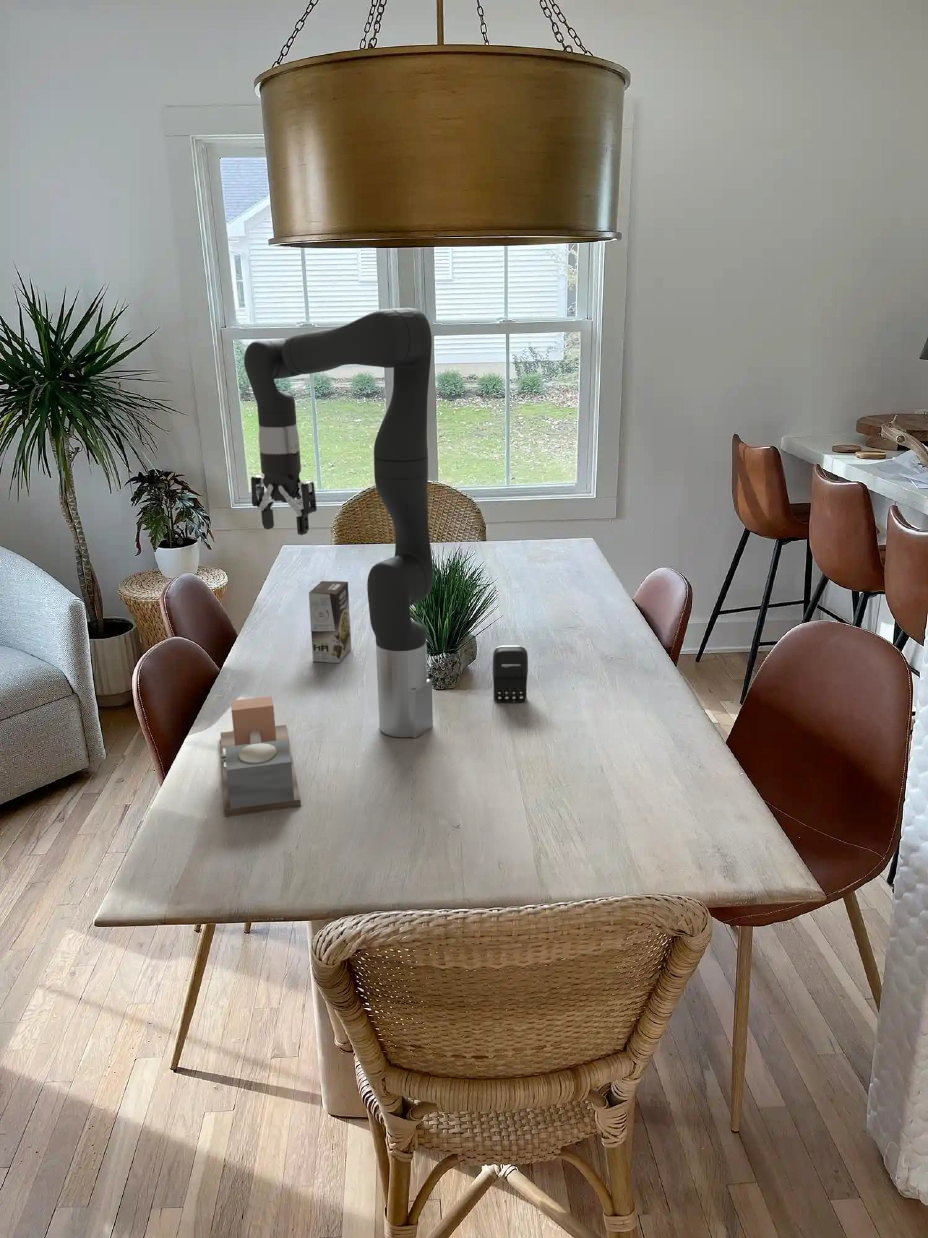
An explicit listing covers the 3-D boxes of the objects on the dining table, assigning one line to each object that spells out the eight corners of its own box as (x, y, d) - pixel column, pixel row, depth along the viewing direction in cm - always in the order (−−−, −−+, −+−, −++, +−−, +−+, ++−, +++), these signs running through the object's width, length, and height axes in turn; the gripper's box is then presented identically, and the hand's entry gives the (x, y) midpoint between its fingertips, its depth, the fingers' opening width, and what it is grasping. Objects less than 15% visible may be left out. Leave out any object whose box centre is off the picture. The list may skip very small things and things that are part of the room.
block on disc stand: (220, 754, 171) (215, 702, 168) (276, 747, 174) (271, 696, 170) (221, 778, 163) (216, 725, 160) (280, 771, 165) (275, 718, 162)
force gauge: (221, 738, 180) (216, 696, 177) (286, 730, 183) (283, 688, 180) (224, 816, 155) (219, 768, 152) (301, 806, 158) (297, 758, 155)
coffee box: (340, 663, 213) (335, 594, 208) (312, 661, 214) (307, 592, 209) (352, 648, 222) (349, 580, 216) (325, 646, 223) (321, 579, 217)
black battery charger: (492, 705, 193) (492, 651, 189) (492, 697, 196) (492, 644, 192) (528, 705, 193) (529, 651, 189) (527, 697, 196) (527, 644, 192)
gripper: (237, 448, 186) (245, 531, 191) (295, 455, 179) (301, 540, 185) (264, 442, 192) (270, 522, 197) (321, 448, 185) (326, 531, 191)
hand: (285, 531), depth 191 cm, fingers open, 8 cm apart
